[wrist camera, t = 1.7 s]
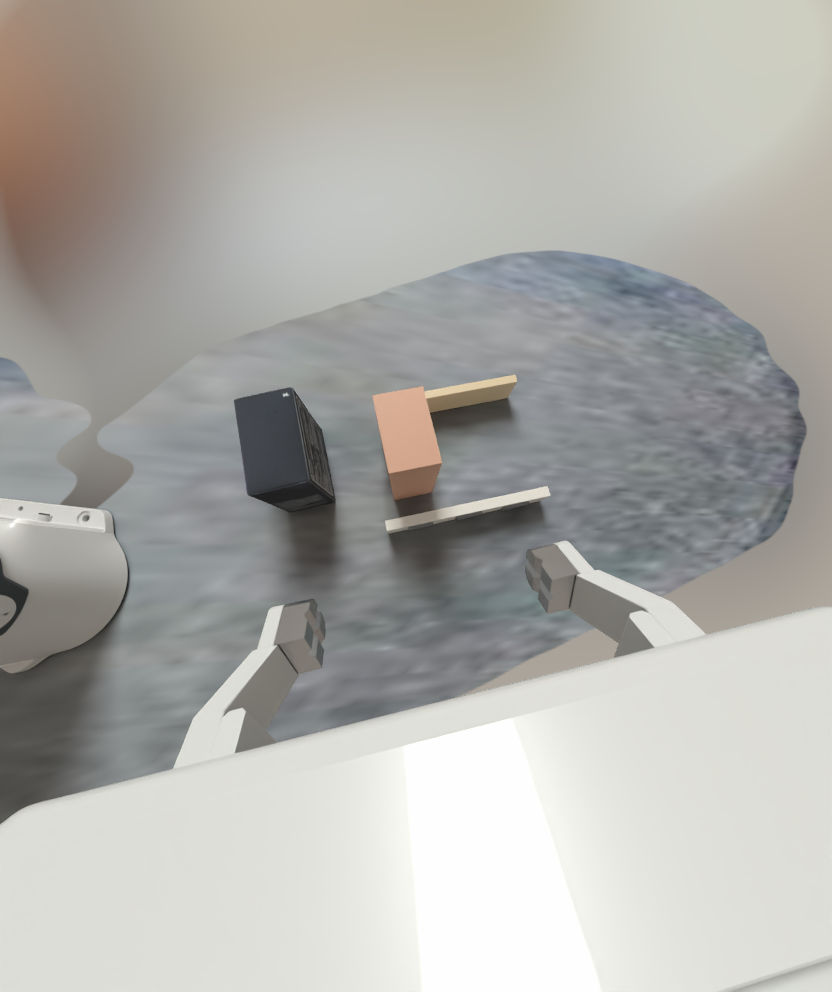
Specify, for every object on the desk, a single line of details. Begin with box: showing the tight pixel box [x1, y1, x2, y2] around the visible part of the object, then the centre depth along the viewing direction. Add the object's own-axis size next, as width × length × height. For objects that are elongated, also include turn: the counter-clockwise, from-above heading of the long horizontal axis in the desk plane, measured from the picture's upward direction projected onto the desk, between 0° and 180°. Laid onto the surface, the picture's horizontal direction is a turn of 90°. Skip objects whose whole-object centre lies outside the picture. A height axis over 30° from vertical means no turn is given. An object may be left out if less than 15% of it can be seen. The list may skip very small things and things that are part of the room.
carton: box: [373, 386, 442, 500], centre depth 35 cm, size 5×8×12 cm, turn 12°
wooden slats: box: [385, 375, 550, 533], centre depth 39 cm, size 20×16×4 cm
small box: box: [234, 387, 335, 512], centre depth 35 cm, size 11×6×10 cm, turn 14°
